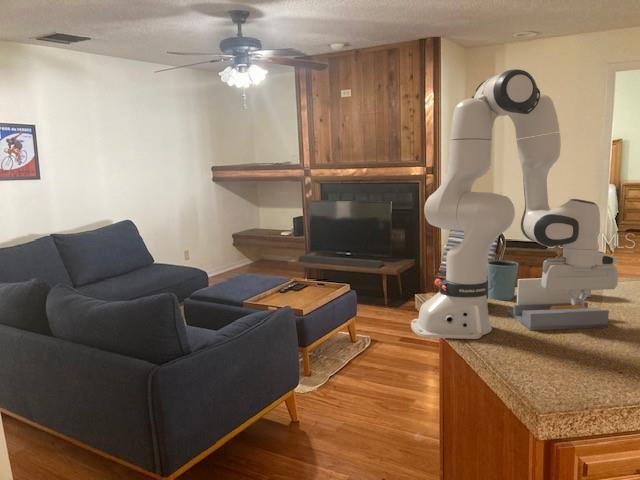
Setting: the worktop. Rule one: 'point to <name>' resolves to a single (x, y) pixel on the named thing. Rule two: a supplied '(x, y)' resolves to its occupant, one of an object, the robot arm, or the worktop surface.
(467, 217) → the robot arm
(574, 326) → the grooved grey base
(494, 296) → the teal cup
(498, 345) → the worktop surface
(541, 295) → the cover
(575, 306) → the orange capsule pill
